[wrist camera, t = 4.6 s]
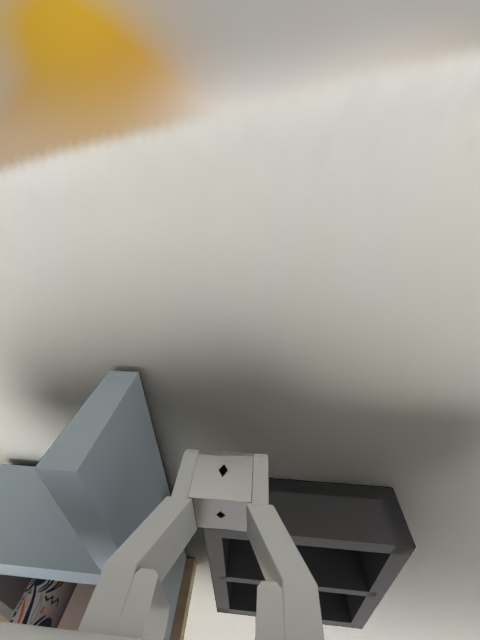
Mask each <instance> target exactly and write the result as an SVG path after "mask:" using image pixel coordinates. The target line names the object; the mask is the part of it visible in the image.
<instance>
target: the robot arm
mask: <svg viewBox="0 0 480 640" xmlns="http://www.w3.org/2000/svg"><path fill="white" fill-rule="evenodd" d="M197 527H201V528H217V529H228V530H236V531H244V532H247V535H248V538H249V540H250V543H251V545H252V548H253V550H254V553H255V555H256V558H257V560H258V563H259V565H260V568H261V570H262V573H263V575H264V578H265V580H266V581H261V582H260V584H259V585H258V586H257V603H256V626H255V640H324V634H323V626H322V618H321V610H320V601H319V593H318V585H317V583H316V582H315V580H314V578H313V576H312V574H311V573H310V571H309V569H308V567H307V565H306V564H305V562H304V560H303V558H302V556H301V555H300V553H299V551H298V549H297V547H296V546H295V544H294V542H293V540H292V538H291V536H290V535H289V533H288V531H287V529H286V527H285V526H284V524H283V522H282V520H281V518H280V517H279V515H278V513H277V511H276V509H275V508H274V506H273V505H269V479H268V454H256V453H254V458H253V453H244V452H221V451H207V450H197V449H186V450H185V452H184V453H183V457H182V460H181V463H180V467H179V470H178V474H177V477H176V481H175V484H174V488H173V491H172V495H171V496H167V497H166V498H165V499H164V500H163V501H162V502H161V503H160V504H159V505H158V506H157V507H156V508H155V510H154V511H153V512H152V513H151V514H150V515H149V516H148V517H147V518H146V519H145V520H144V521H143V522H142V524H141V525H140V526H139V527H138V528H137V529H136V530H135V531H134V532H133V533H132V534H131V535H130V536H129V538H128V539H127V540H126V541H125V542H124V543H123V544H122V545H121V546H120V547H119V548H118V549H117V550H116V552H115V553H114V554H113V555H112V556H111V557H110V558H109V559H108V560H107V561H106V562H105V565H104V567H103V570H102V572H101V575H100V577H99V579H98V582H97V584H96V587H95V589H94V592H93V594H92V597H91V599H90V601H89V604H88V606H87V609H86V611H85V614H84V616H83V619H82V621H81V623H80V626H79V628H78V631H74V630H67V629H59V628H51V627H43V626H35V625H27V624H19V623H11V622H3V621H0V640H164V636H165V631H166V626H167V621H168V616H169V611H170V605H169V602H168V600H167V597H166V594H165V592H164V589H163V587H162V584H161V582H162V581H163V579H164V578H165V576H166V575H167V573H168V572H169V570H170V569H171V567H172V566H173V564H174V563H175V561H176V560H177V559H178V557H179V556H180V554H181V553H182V551H183V550H184V548H185V547H186V545H187V544H188V542H189V541H190V539H191V538H192V536H193V535H194V533H195V532H196V531H197Z"/></svg>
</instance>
